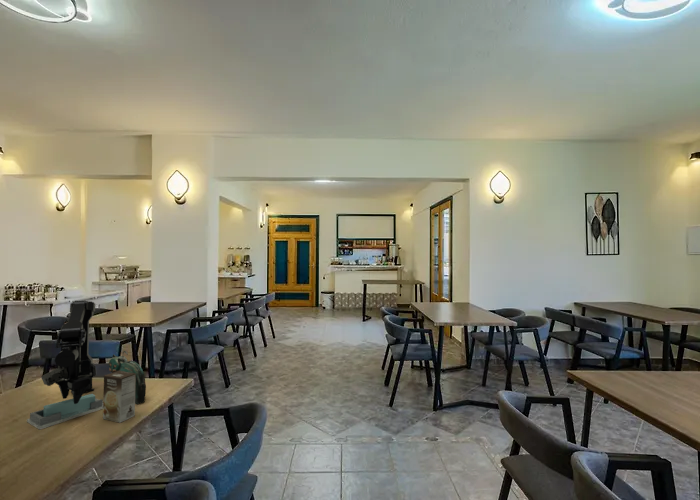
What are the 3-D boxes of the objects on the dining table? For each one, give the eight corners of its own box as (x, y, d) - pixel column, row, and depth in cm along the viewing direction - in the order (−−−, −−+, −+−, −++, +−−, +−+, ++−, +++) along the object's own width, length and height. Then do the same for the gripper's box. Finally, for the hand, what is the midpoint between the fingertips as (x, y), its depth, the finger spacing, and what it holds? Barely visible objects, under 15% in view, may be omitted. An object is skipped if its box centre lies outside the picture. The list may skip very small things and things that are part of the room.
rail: (92, 403, 141) (92, 393, 141) (95, 406, 139) (95, 395, 139) (43, 416, 130) (43, 405, 130) (45, 419, 127) (45, 408, 128)
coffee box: (101, 419, 130) (102, 375, 130) (118, 412, 136) (118, 370, 136) (120, 423, 127) (120, 378, 127) (136, 415, 133) (136, 372, 133)
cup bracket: (95, 400, 147) (95, 393, 147) (109, 406, 141) (109, 398, 141) (27, 421, 128) (27, 413, 128) (39, 429, 122) (39, 420, 122)
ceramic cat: (106, 397, 150) (107, 350, 151) (122, 392, 156) (122, 346, 157) (135, 406, 141) (135, 356, 142) (150, 400, 147) (151, 352, 147)
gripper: (34, 361, 133) (33, 403, 132) (55, 369, 123) (55, 414, 123) (69, 354, 142) (68, 393, 142) (92, 361, 133) (91, 403, 132)
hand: (70, 401), depth 134 cm, fingers open, 9 cm apart
